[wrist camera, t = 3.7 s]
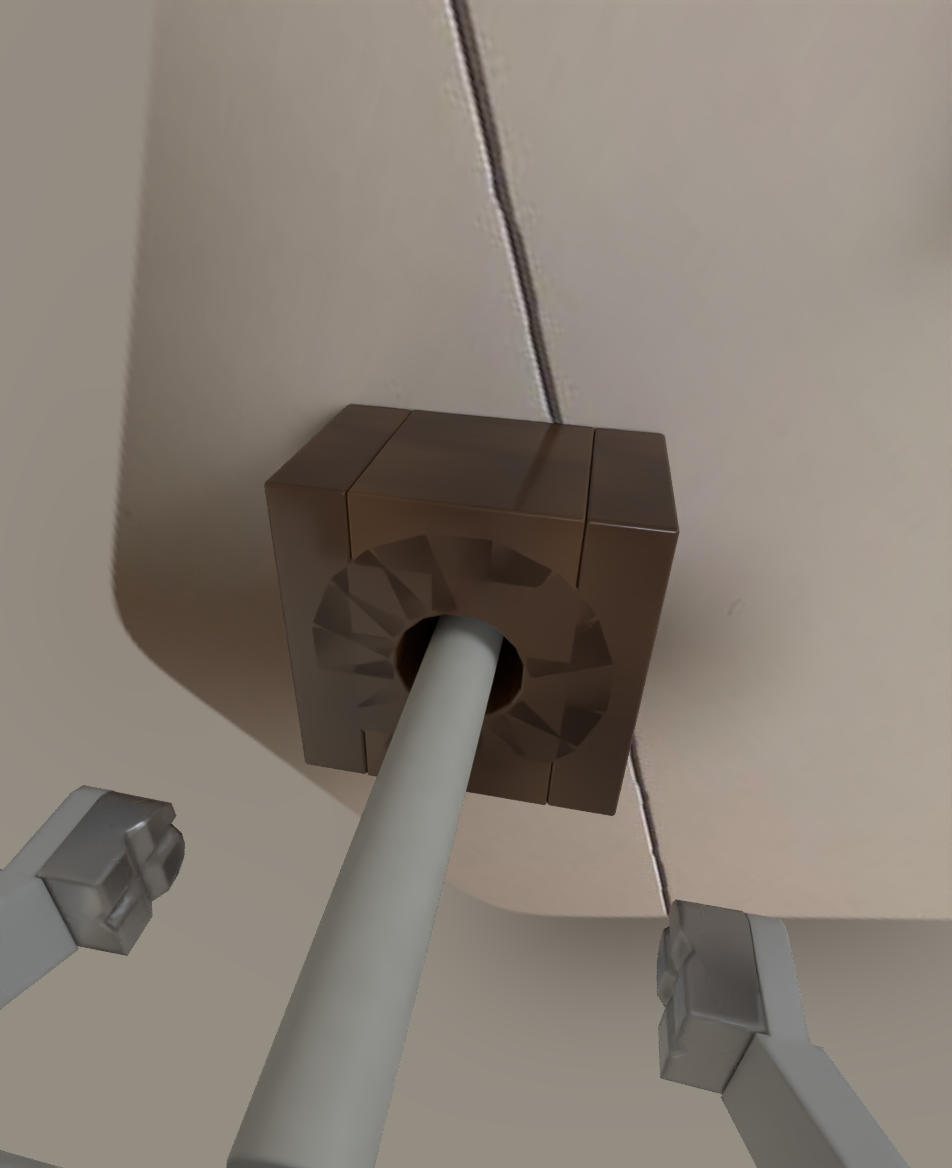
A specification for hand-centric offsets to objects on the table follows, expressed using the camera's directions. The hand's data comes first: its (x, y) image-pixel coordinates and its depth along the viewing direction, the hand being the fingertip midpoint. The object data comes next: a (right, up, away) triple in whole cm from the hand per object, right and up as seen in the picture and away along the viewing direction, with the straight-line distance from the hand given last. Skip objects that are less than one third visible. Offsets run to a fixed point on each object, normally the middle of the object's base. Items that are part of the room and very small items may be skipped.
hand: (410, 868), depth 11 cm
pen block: (+2, +5, +8) cm, 10 cm away
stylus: (+2, +5, +8) cm, 10 cm away
